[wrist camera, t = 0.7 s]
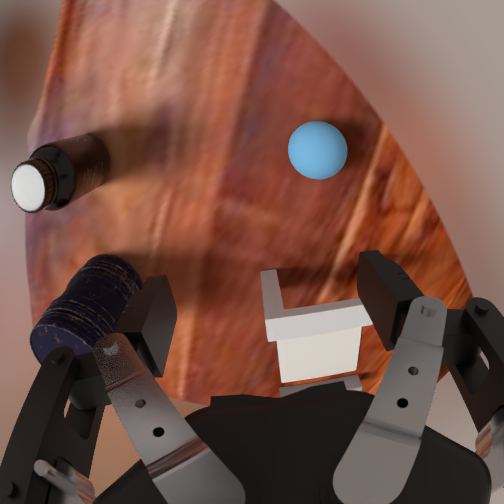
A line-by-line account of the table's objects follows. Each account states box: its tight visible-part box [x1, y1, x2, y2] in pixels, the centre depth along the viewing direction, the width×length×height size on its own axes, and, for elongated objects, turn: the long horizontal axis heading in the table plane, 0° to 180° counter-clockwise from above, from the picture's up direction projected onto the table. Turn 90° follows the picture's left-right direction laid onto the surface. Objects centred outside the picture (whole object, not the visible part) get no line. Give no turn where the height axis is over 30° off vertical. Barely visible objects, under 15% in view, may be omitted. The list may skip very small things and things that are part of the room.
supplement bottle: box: [11, 135, 110, 213], centre depth 26 cm, size 7×7×12 cm
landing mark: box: [277, 327, 362, 383], centre depth 44 cm, size 13×13×1 cm
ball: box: [288, 121, 347, 179], centre depth 29 cm, size 6×6×6 cm
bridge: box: [260, 269, 373, 342], centre depth 34 cm, size 3×15×10 cm, turn 98°
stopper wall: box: [279, 374, 362, 397], centre depth 47 cm, size 2×14×3 cm, turn 97°
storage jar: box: [30, 255, 143, 365], centre depth 32 cm, size 10×10×15 cm
